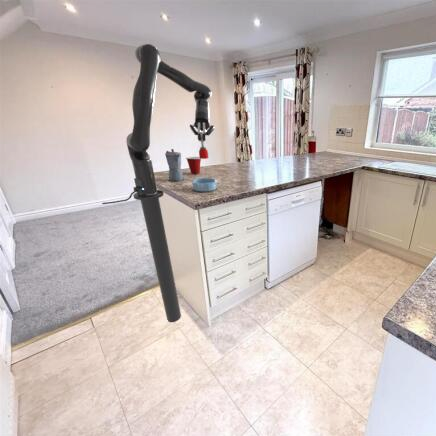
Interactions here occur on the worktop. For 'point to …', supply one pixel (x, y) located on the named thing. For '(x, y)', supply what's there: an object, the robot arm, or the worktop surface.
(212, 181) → the serving bowl
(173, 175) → the moka pot
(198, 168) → the plastic cup
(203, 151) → the strawberry fork
